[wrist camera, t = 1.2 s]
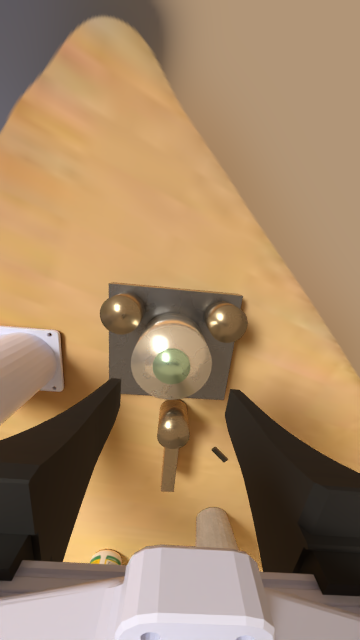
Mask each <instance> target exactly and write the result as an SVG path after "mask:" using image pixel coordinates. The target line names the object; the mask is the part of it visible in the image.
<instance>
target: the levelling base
mask: <svg viewBox="0 0 360 640" xmlns="http://www.w3.org/2000/svg"><path fill="white" fill-rule="evenodd" d="M242 298H243V296H242V295H239V294H232V293H222V292H211V291H200V290H189V289H179V288H168V287H157V286H147V285H136V284H125V283H114V282H113V283H109V299H107V300H106V301H105V302H104V303H103V305H102V306H101V309H100V318H101V321H102V323H103V325H104V326H105V327H106V328H107V329H108V330H109V380H110V379H111V378H117V379H121V394H134V395H150V396H154V397H157V398H161V399H166V400H176V399H182V398H198V399H214V400H224V396H225V391H226V385H227V380H228V374H229V369H230V363H231V358H232V352H233V347H234V341H236V340H238V339H240V338H241V337H242V336H243V335H244V333H245V331H246V329H247V324H248V322H247V317H246V315H245V313H244V312H243V311H242V310H241V309H240V308H241V303H242ZM212 451H213V452H214V453H215V454H216V455H217V456H218V457H219V458H220V459H221V460H222V461H223V462H226V461H227V460H228V459H227V458H226V457H225V456H224V455H223V454H222V453H221V452H220V451H219V450H218V449H217V448H216V447H214V448H213V449H212Z"/></svg>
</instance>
